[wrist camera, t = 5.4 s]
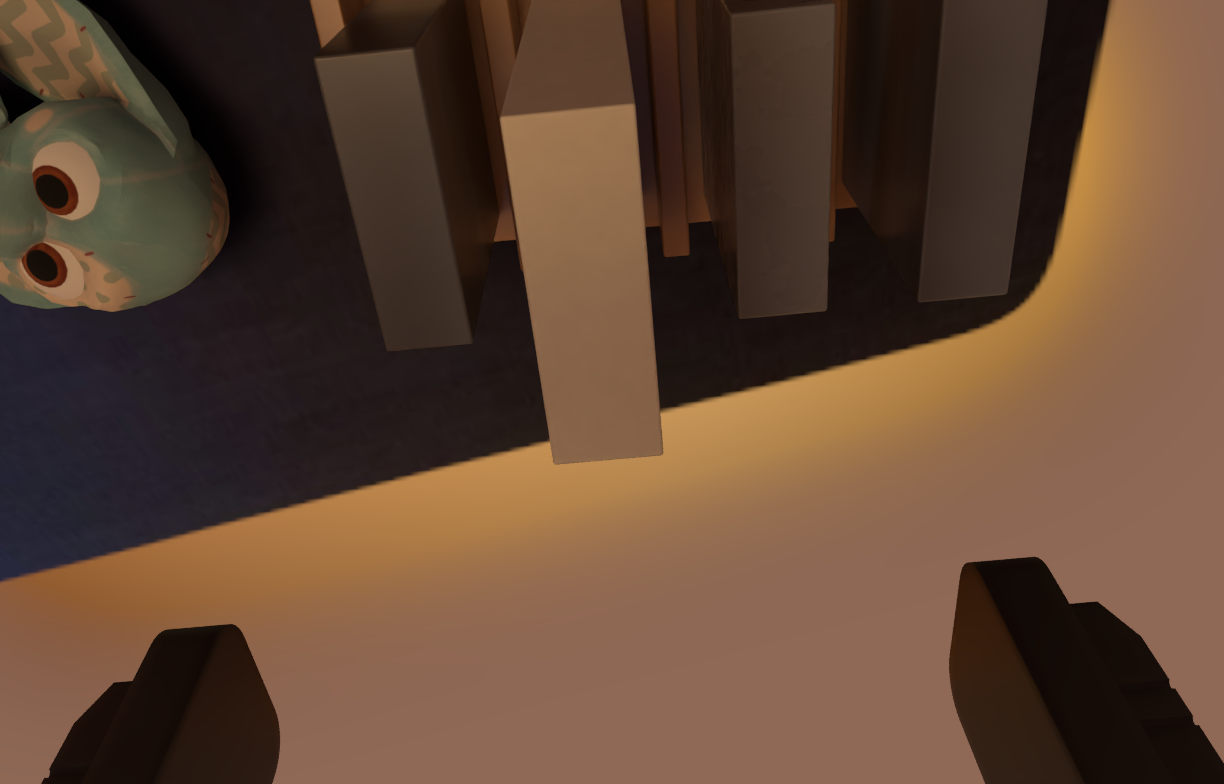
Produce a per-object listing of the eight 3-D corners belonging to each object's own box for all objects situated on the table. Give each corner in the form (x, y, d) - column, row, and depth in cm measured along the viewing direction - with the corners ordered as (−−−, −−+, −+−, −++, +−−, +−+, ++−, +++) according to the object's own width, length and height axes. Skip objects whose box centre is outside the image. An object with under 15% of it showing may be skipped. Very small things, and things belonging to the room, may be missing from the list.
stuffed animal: (-330, -119, 22) (164, 115, 23) (-81, -118, 28) (299, 65, 29) (-302, 278, 27) (99, 458, 28) (-98, 204, 33) (225, 352, 34)
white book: (615, -36, 27) (635, 103, 15) (635, 199, 31) (663, 456, 19) (537, -27, 27) (498, 117, 15) (567, 206, 31) (553, 465, 19)
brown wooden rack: (973, -117, 27) (1134, -76, 19) (945, 187, 32) (1064, 322, 24) (332, -49, 28) (227, 19, 20) (398, 239, 33) (335, 388, 25)
